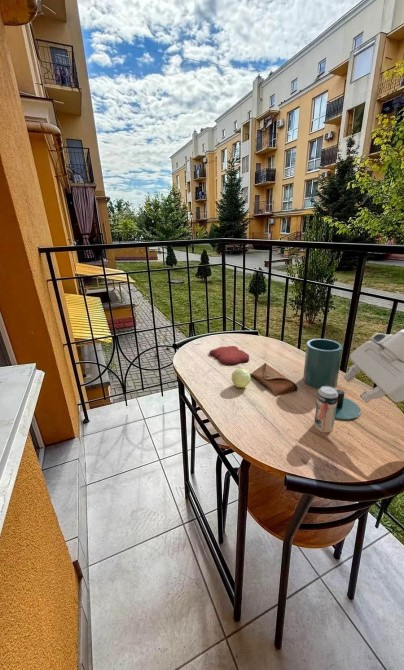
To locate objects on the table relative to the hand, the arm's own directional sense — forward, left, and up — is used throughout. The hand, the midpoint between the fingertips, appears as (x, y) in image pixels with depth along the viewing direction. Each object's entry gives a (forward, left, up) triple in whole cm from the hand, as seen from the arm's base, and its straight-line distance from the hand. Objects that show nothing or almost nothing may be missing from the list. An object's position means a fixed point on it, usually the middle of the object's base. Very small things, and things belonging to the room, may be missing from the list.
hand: (353, 389), depth 71 cm
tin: (+16, -18, -12) cm, 27 cm away
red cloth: (+54, -13, -12) cm, 57 cm away
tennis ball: (+34, +3, -12) cm, 37 cm away
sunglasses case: (+28, -6, -12) cm, 31 cm away
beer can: (+4, +4, -12) cm, 14 cm away
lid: (+5, -7, -12) cm, 14 cm away
